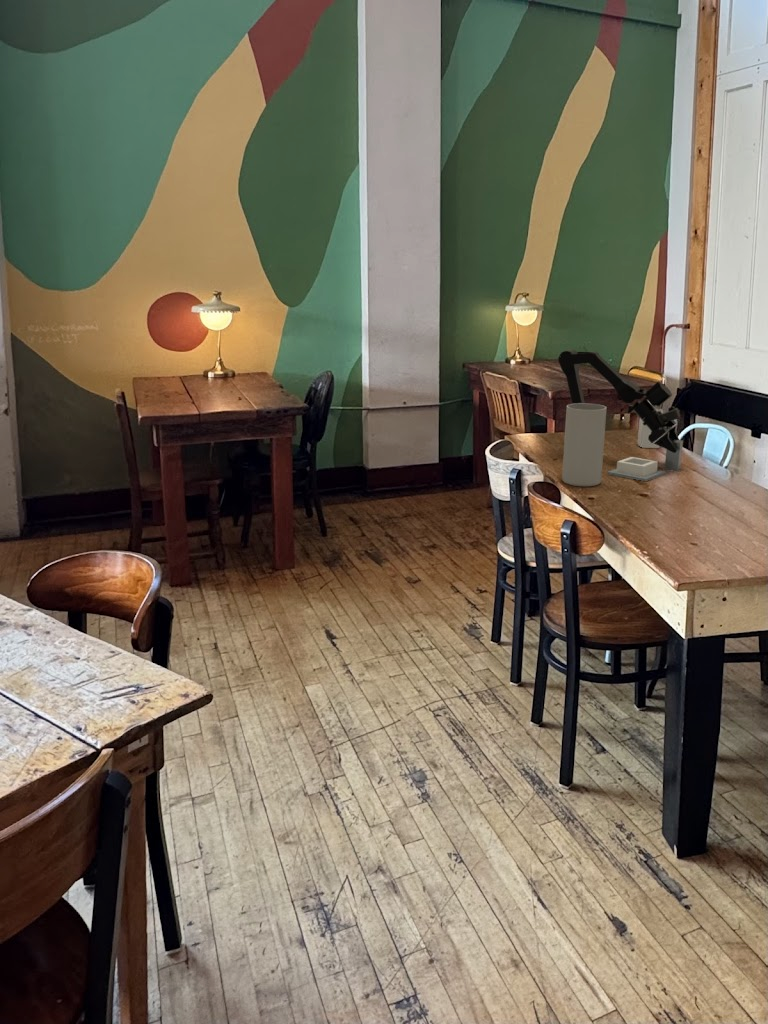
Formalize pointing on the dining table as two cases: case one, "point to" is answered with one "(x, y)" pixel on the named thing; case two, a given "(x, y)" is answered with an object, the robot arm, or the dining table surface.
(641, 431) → the milk carton
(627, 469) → the socket block
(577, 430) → the cylinder vase
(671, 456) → the square bit
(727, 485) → the dining table surface
